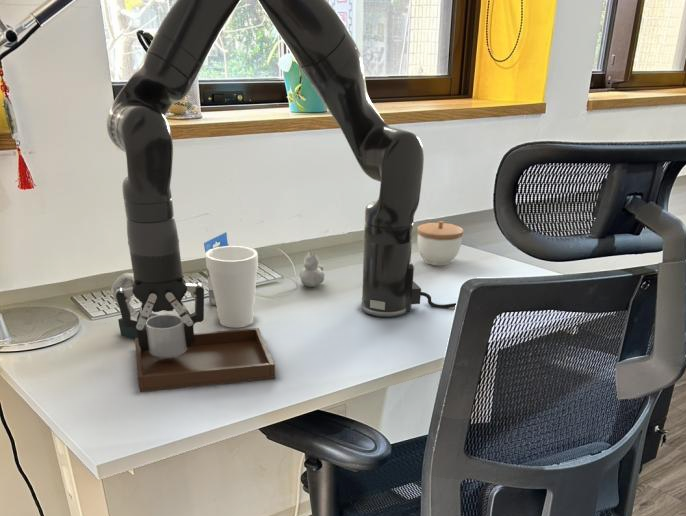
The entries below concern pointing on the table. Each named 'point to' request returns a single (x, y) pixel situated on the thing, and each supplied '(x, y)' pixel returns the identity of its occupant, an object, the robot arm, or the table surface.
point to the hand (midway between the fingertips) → (167, 346)
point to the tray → (208, 362)
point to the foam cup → (233, 283)
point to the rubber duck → (312, 271)
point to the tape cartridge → (208, 246)
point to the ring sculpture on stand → (127, 282)
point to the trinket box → (439, 242)
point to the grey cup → (166, 336)
